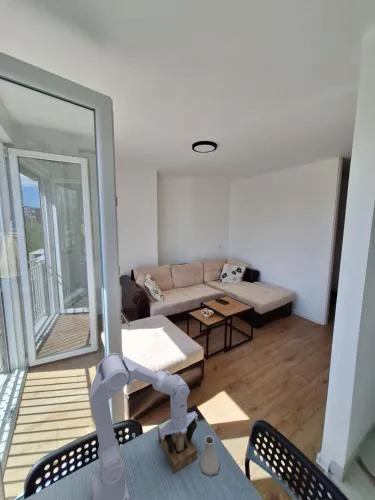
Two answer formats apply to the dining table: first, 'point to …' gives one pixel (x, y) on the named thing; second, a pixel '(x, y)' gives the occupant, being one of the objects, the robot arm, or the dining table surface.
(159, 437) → the bench
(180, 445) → the peg
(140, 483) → the dining table surface
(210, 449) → the flask
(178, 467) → the socket
